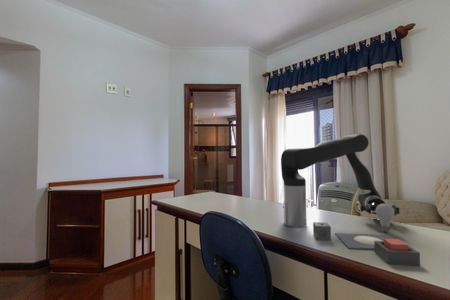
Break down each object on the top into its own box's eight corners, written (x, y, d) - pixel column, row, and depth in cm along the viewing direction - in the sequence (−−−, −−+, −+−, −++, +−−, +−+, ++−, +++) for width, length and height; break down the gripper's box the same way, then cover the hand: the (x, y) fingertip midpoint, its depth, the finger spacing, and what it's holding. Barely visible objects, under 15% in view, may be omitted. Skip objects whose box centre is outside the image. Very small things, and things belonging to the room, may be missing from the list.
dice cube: (327, 235, 90) (327, 222, 90) (331, 240, 85) (330, 226, 85) (313, 235, 91) (313, 222, 91) (316, 240, 86) (316, 226, 86)
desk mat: (348, 248, 78) (348, 246, 78) (335, 234, 91) (335, 232, 91) (409, 251, 75) (409, 249, 75) (386, 236, 89) (386, 234, 89)
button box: (388, 264, 67) (387, 251, 67) (374, 252, 75) (374, 241, 75) (420, 265, 65) (419, 252, 65) (402, 253, 73) (402, 242, 73)
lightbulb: (395, 235, 89) (394, 205, 89) (376, 232, 92) (375, 204, 93) (394, 231, 94) (393, 203, 95) (376, 228, 98) (375, 201, 98)
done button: (391, 252, 68) (391, 244, 68) (383, 246, 73) (383, 238, 73) (408, 253, 68) (408, 244, 68) (399, 247, 72) (399, 239, 72)
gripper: (357, 195, 116) (361, 201, 101) (392, 197, 111) (402, 204, 96) (357, 211, 116) (362, 219, 101) (393, 213, 110) (403, 223, 96)
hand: (381, 212), depth 98 cm, fingers open, 8 cm apart
